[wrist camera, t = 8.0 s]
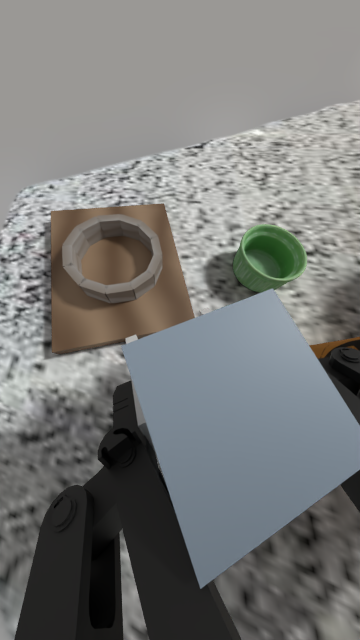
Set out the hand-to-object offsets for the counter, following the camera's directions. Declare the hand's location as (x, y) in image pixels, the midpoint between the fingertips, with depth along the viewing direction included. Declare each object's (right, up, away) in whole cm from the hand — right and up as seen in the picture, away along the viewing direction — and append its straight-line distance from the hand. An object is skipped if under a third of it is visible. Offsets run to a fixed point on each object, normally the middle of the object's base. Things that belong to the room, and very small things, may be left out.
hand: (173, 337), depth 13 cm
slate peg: (+1, -5, +3) cm, 5 cm away
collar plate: (-8, +8, +11) cm, 15 cm away
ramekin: (+12, +9, +14) cm, 20 cm away
